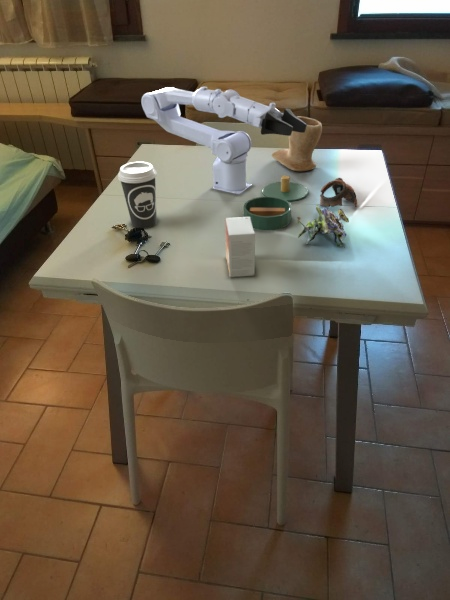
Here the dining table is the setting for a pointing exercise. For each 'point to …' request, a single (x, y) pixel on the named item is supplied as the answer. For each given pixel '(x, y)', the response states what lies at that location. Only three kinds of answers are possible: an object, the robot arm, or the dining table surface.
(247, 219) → the small box
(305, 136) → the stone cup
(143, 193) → the coffee cup
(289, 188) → the tin lid
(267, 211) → the stick
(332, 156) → the dining table surface
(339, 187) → the brown hollow shell
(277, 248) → the dining table surface
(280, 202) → the tin
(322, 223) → the passion flower
